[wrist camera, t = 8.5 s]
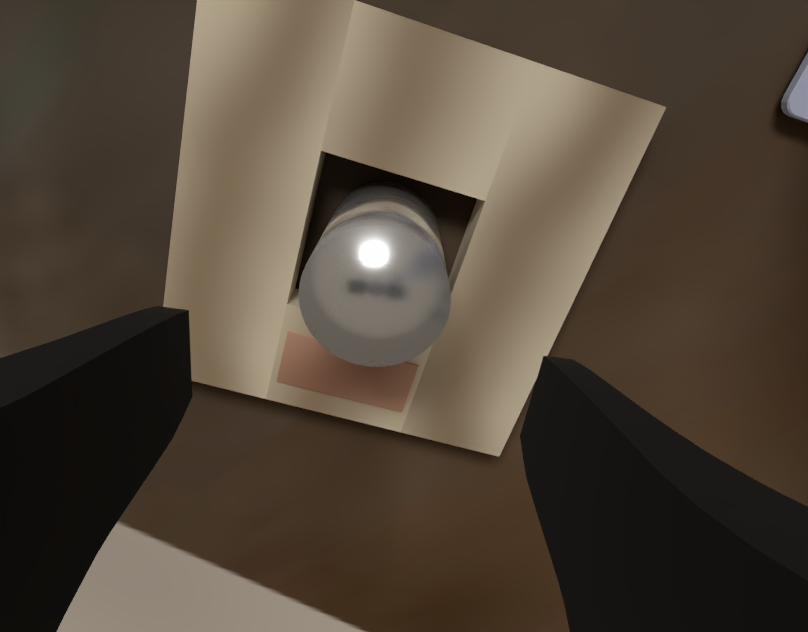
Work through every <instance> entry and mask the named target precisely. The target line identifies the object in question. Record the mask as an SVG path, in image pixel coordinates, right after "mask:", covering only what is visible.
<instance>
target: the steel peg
mask: <svg viewBox="0 0 808 632" xmlns="http://www.w3.org/2000/svg"><path fill="white" fill-rule="evenodd" d="M299 305H300V310H301V314H302V317H303V319H304V322H305V324H306V326H307V328H308V329H309V331H310V333H311V334H312V335H313V337H314V338H315V339H316V340H317V341H318V342H319V343H320V344H321V345H322V346H323V347H324V348H325V349H326V350H328V351H329V352H330V353H332V354H334V355H335V356H337V357H339V358H341V359H343V360H345V361H348V362H351V363H354V364H357V365H363V366H371V367H383V366H391V365H396V364H400V363H403V362H406V361H408V360H410V359H413V358H414V357H416V356H418V355H420V354H421V353H422V352H424V351H425V350H426V349H428V348H429V347H430V346H431V345H432V344H433V343H434V342H435V340H436V339H437V338H438V337H439V335H440V334H441V332H442V330H443V329H444V327H445V324H446V322H447V320H448V316H449V312H450V306H451V291H450V285H449V279H448V274H447V269H446V264H445V259H444V253H443V248H442V243H441V238H440V233H439V227H438V223H437V219H436V216H435V214H434V212H433V210H432V208H431V207H430V205H429V204H428V202H427V201H426V200H425V199H424V198H423V197H422V196H421V195H420V194H419V193H417V192H416V191H414V190H413V189H411V188H409V187H407V186H405V185H402V184H399V183H395V182H388V181H379V182H372V183H368V184H365V185H362V186H360V187H358V188H356V189H355V190H353V191H352V192H350V193H349V194H348V195H347V196H346V197H345V198H344V199H343V200H342V201H341V202H340V204H339V206H338V207H337V209H336V210H335V212H334V214H333V216H332V218H331V220H330V221H329V223H328V225H327V227H326V229H325V231H324V232H323V234H322V236H321V238H320V240H319V242H318V243H317V245H316V247H315V249H314V251H313V253H312V254H311V256H310V258H309V260H308V262H307V264H306V266H305V268H304V270H303V273H302V276H301V279H300V284H299Z"/></svg>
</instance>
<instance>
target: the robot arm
mask: <svg viewBox="0 0 808 632" xmlns="http://www.w3.org/2000/svg"><path fill="white" fill-rule="evenodd" d="M781 109H782V111H783V113H784V114H786V115H787V116H789V117H792V118H795V119H798V120H801V121H804V122H806V123H808V53H807V55H806V56H805V58H804V60H803V62H802V63H801V65H800V67H799V69H798V71H797V72H796V74H795V76H794V78H793V79H792V81H791V83H790V85H789V87H788V88H787V90H786V92H785V94H784V95H783V98H782V101H781ZM191 398H192V378H191V353H190V327H189V310H184V309H176V308H168V307H161V306H156V307H151V308H147V309H144V310H140V311H137V312H134V313H131V314H128V315H125V316H122V317H119V318H117V319H114V320H111V321H108V322H106V323H103V324H100V325H97V326H94V327H92V328H89V329H86V330H83V331H81V332H78V333H75V334H72V335H69V336H67V337H64V338H61V339H58V340H55V341H52V342H49V343H46V344H43V345H40V346H37V347H34V348H30V349H27V350H24V351H21V352H18V353H15V354H12V355H9V356H6V357H3V358H0V632H56V631H57V629H58V627H59V625H60V623H61V621H62V619H63V617H64V615H65V613H66V611H67V609H68V607H69V605H70V603H71V602H72V600H73V598H74V596H75V594H76V592H77V590H78V588H79V586H80V585H81V583H82V581H83V579H84V577H85V575H86V573H87V571H88V569H89V567H90V566H91V564H92V562H93V560H94V558H95V556H96V554H97V553H98V551H99V550H100V548H101V546H102V545H103V543H104V541H105V540H106V538H107V536H108V535H109V533H110V532H111V530H112V529H113V527H114V526H115V524H116V523H117V521H118V520H119V518H120V517H121V515H122V514H123V512H124V511H125V509H126V508H127V506H128V505H129V503H130V502H131V500H132V499H133V497H134V496H135V494H136V493H137V491H138V490H139V488H140V487H141V485H142V484H143V482H144V481H145V479H146V478H147V476H148V475H149V473H150V472H151V470H152V469H153V467H154V466H155V464H156V463H157V461H158V460H159V458H160V457H161V455H162V454H163V452H164V451H165V449H166V448H167V446H168V444H169V443H170V441H171V440H172V438H173V436H174V434H175V432H176V430H177V428H178V426H179V424H180V422H181V420H182V418H183V416H184V414H185V411H186V409H187V407H188V405H189V402H190V400H191ZM520 438H521V445H522V453H523V460H524V465H525V471H526V477H527V481H528V484H529V488H530V491H531V495H532V498H533V501H534V505H535V508H536V511H537V514H538V518H539V521H540V524H541V527H542V530H543V534H544V537H545V540H546V543H547V546H548V550H549V553H550V556H551V559H552V562H553V566H554V569H555V572H556V575H557V578H558V582H559V586H560V589H561V593H562V597H563V601H564V605H565V609H566V614H567V619H568V624H569V629H570V632H808V507H807V506H805V505H803V504H801V503H799V502H797V501H795V500H793V499H791V498H789V497H787V496H785V495H783V494H781V493H779V492H777V491H775V490H773V489H771V488H769V487H767V486H765V485H763V484H762V483H760V482H758V481H756V480H754V479H753V478H751V477H749V476H747V475H746V474H744V473H742V472H740V471H739V470H737V469H735V468H733V467H732V466H730V465H728V464H726V463H725V462H723V461H721V460H719V459H718V458H716V457H714V456H713V455H711V454H709V453H708V452H706V451H705V450H703V449H701V448H700V447H698V446H697V445H695V444H694V443H692V442H691V441H689V440H688V439H686V438H685V437H683V436H682V435H680V434H678V433H677V432H675V431H674V430H672V429H671V428H669V427H668V426H667V425H665V424H664V423H662V422H661V421H659V420H658V419H656V418H655V417H654V416H652V415H651V414H649V413H648V412H647V411H645V410H644V409H642V408H641V407H640V406H638V405H637V404H636V403H634V402H633V401H632V400H630V399H629V398H627V397H626V396H625V395H623V394H622V393H621V392H619V391H618V390H617V389H615V388H614V387H613V386H611V385H610V384H609V383H607V382H606V381H605V380H603V379H602V378H600V377H599V376H598V375H596V374H595V373H593V372H592V371H591V370H589V369H588V368H586V367H585V366H583V365H581V364H580V363H578V362H576V361H574V360H572V359H565V358H557V357H549V356H543V359H542V363H541V366H540V370H539V373H538V377H537V380H536V383H535V387H534V390H533V394H532V397H531V400H530V404H529V407H528V411H527V414H526V418H525V421H524V424H523V428H522V431H521V435H520Z"/></svg>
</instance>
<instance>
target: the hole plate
mask: <svg viewBox="0 0 808 632" xmlns="http://www.w3.org/2000/svg"><path fill="white" fill-rule="evenodd" d="M665 109H666V107H664V106H661V105H658V104H655V103H653V102H650V101H647V100H644V99H641V98H638V97H635V96H632V95H629V94H626V93H623V92H621V91H618V90H615V89H612V88H609V87H606V86H603V85H600V84H597V83H594V82H591V81H589V80H586V79H583V78H580V77H577V76H574V75H571V74H568V73H565V72H562V71H559V70H557V69H554V68H551V67H548V66H545V65H542V64H539V63H536V62H533V61H530V60H527V59H524V58H522V57H519V56H516V55H513V54H510V53H507V52H504V51H501V50H498V49H495V48H492V47H490V46H487V45H484V44H481V43H478V42H475V41H472V40H469V39H466V38H463V37H460V36H458V35H455V34H452V33H449V32H446V31H443V30H440V29H437V28H434V27H431V26H428V25H426V24H423V23H420V22H417V21H414V20H411V19H408V18H405V17H402V16H399V15H396V14H393V13H391V12H388V11H385V10H382V9H379V8H376V7H373V6H370V5H367V4H364V3H361V2H359V1H356V0H197V7H196V16H195V25H194V34H193V43H192V52H191V61H190V70H189V79H188V88H187V97H186V106H185V115H184V124H183V133H182V142H181V151H180V160H179V169H178V178H177V187H176V196H175V205H174V214H173V223H172V232H171V241H170V250H169V259H168V268H167V277H166V286H165V295H164V304H163V307H168V308H176V309H184V310H189V327H190V353H191V378H192V381H195V382H199V383H203V384H207V385H211V386H215V387H219V388H223V389H227V390H231V391H235V392H239V393H244V394H248V395H252V396H256V397H260V398H264V399H268V400H272V401H276V402H280V403H284V404H288V405H292V406H296V407H300V408H304V409H308V410H312V411H316V412H320V413H324V414H328V415H332V416H336V417H341V418H345V419H349V420H353V421H357V422H361V423H365V424H369V425H373V426H377V427H381V428H385V429H389V430H393V431H397V432H401V433H405V434H409V435H413V436H417V437H421V438H425V439H429V440H433V441H438V442H442V443H446V444H450V445H454V446H458V447H462V448H466V449H470V450H474V451H478V452H482V453H486V454H490V455H494V456H498V457H499V456H500V454H501V452H502V450H503V448H504V446H505V444H506V441H507V439H508V437H509V435H510V433H511V431H512V429H513V427H514V425H515V423H516V421H517V418H518V416H519V414H520V412H521V410H522V408H523V406H524V404H525V402H526V400H527V398H528V395H529V393H530V391H531V389H532V387H533V385H534V383H535V381H536V379H537V377H538V373H539V370H540V366H541V363H542V359H543V356H548V354H549V352H550V349H551V347H552V345H553V343H554V341H555V339H556V337H557V335H558V333H559V331H560V329H561V326H562V324H563V322H564V320H565V318H566V316H567V314H568V312H569V310H570V308H571V306H572V303H573V301H574V299H575V297H576V295H577V293H578V291H579V289H580V287H581V285H582V282H583V280H584V278H585V276H586V274H587V272H588V270H589V268H590V266H591V264H592V262H593V259H594V257H595V255H596V253H597V251H598V249H599V247H600V245H601V243H602V241H603V239H604V236H605V234H606V232H607V230H608V228H609V226H610V224H611V222H612V220H613V218H614V216H615V213H616V211H617V209H618V207H619V205H620V203H621V201H622V199H623V197H624V195H625V193H626V190H627V188H628V186H629V184H630V182H631V180H632V178H633V176H634V174H635V172H636V170H637V167H638V165H639V163H640V161H641V159H642V157H643V155H644V153H645V151H646V149H647V147H648V144H649V142H650V140H651V138H652V136H653V134H654V132H655V130H656V128H657V126H658V124H659V121H660V119H661V117H662V115H663V113H664V111H665ZM326 152H327V153H330V154H333V155H337V156H340V157H343V158H346V159H350V160H353V161H356V162H359V163H363V164H366V165H369V166H372V167H376V168H379V169H382V170H385V171H389V172H392V173H395V174H399V175H402V176H405V177H408V178H412V179H415V180H418V181H421V182H425V183H428V184H431V185H434V186H438V187H441V188H444V189H447V190H451V191H454V192H457V193H460V194H464V195H467V196H470V197H474V198H477V200H476V203H475V206H474V209H473V211H472V214H471V217H470V220H469V222H468V225H467V228H466V231H465V234H464V236H463V239H462V242H461V245H460V248H459V250H458V253H457V256H456V259H455V261H454V264H453V267H452V270H451V273H450V275H449V278H448V279H449V285H450V291H451V306H450V312H449V316H448V320H447V322H446V324H445V327H444V329H443V330H442V332H441V334H440V335H439V337H438V338H437V339H436V340H435V342H434V343H433V344H432V345H431V346H430V347H429V348H428V349H426V350H425V351H424V352H422V353H421V354H420V355H418V356H416V357H414V358H413V359H410V360H408V361H406V362H403V363H400V364H396V365H391V366H383V367H371V366H363V365H357V364H354V363H351V362H348V361H345V360H343V359H341V358H339V357H337V356H335V355H334V354H332V353H330V352H329V351H328V350H326V349H325V348H324V347H323V346H322V345H321V344H320V343H319V342H318V341H317V340H316V339H315V338H314V337H313V335H312V334H311V333H310V331H309V329H308V328H307V326H306V324H305V322H304V319H303V317H302V314H301V310H300V305H299V289H296V283H297V279H298V274H299V270H300V265H301V261H302V257H303V252H304V248H305V243H306V239H307V234H308V230H309V226H310V221H311V217H312V212H313V208H314V204H315V199H316V195H317V190H318V186H319V181H320V177H321V173H322V168H323V164H324V159H325V155H326Z"/></svg>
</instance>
